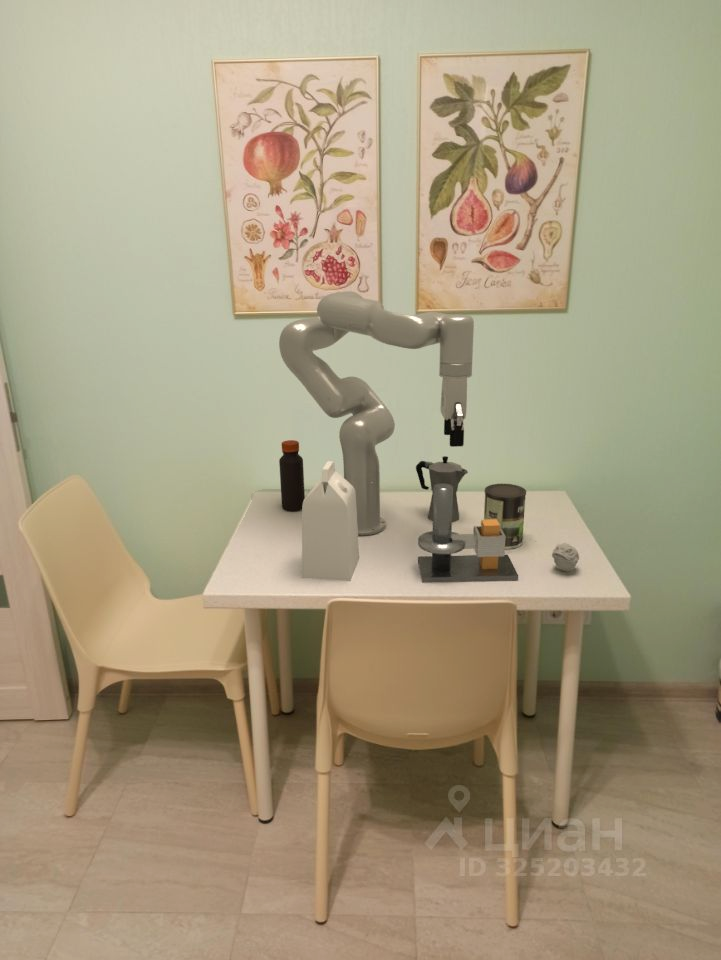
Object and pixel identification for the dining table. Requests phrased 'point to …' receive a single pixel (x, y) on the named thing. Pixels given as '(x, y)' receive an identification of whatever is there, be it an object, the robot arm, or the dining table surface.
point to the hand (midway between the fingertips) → (453, 440)
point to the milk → (330, 528)
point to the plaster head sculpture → (565, 557)
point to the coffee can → (506, 511)
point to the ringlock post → (459, 548)
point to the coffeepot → (442, 480)
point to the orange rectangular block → (489, 529)
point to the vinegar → (291, 477)
